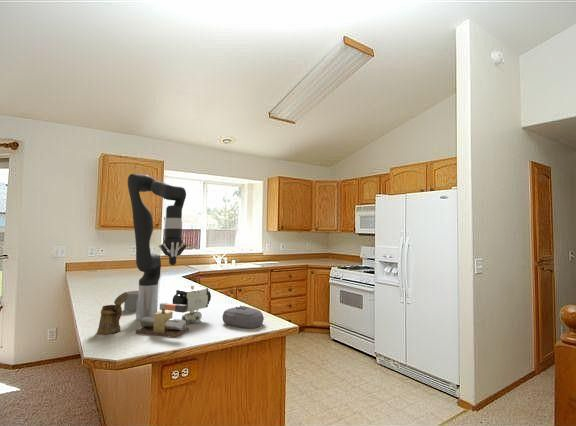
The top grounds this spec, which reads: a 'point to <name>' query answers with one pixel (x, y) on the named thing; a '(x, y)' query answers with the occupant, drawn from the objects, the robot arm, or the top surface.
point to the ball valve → (192, 302)
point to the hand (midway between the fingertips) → (172, 264)
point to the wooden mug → (111, 316)
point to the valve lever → (173, 307)
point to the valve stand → (162, 325)
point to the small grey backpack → (243, 317)
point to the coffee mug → (131, 301)
